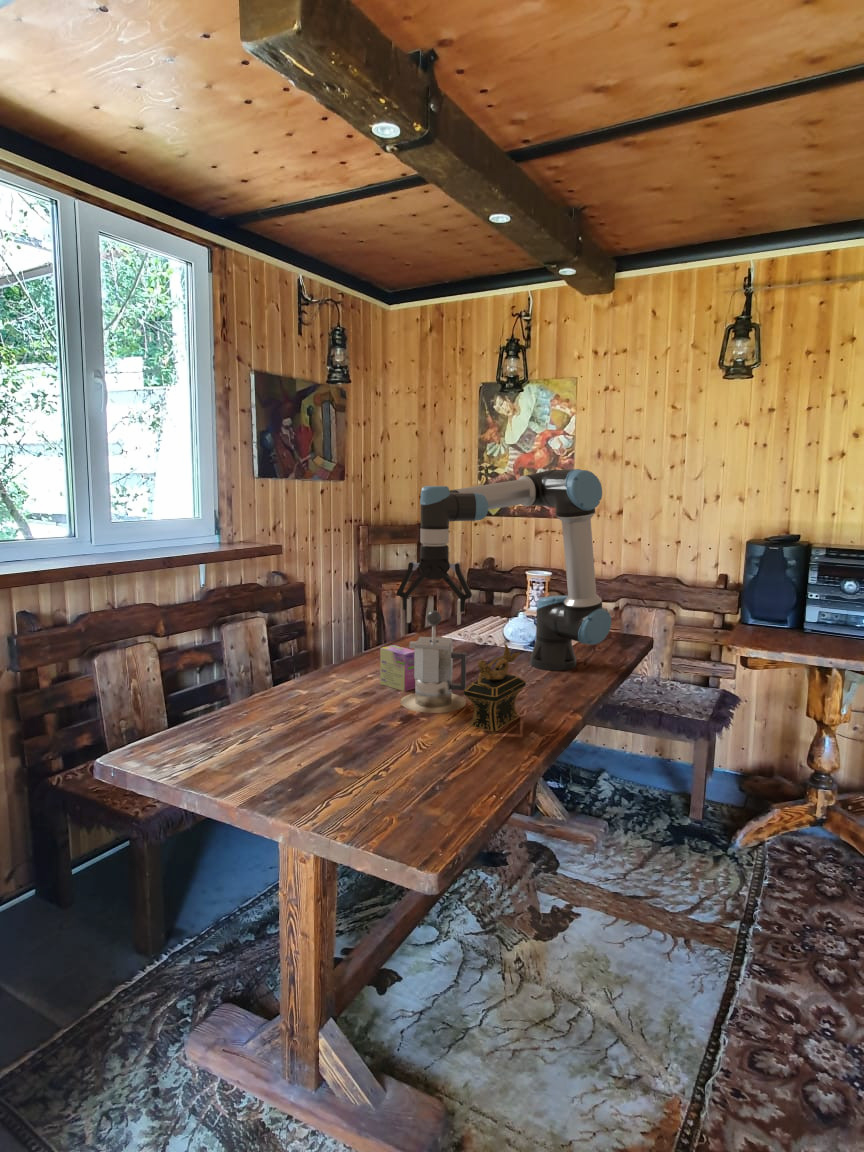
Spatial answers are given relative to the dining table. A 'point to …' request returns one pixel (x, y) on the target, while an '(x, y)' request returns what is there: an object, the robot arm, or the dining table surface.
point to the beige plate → (455, 705)
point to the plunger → (433, 622)
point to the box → (397, 667)
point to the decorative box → (494, 694)
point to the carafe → (436, 671)
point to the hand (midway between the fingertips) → (433, 622)
